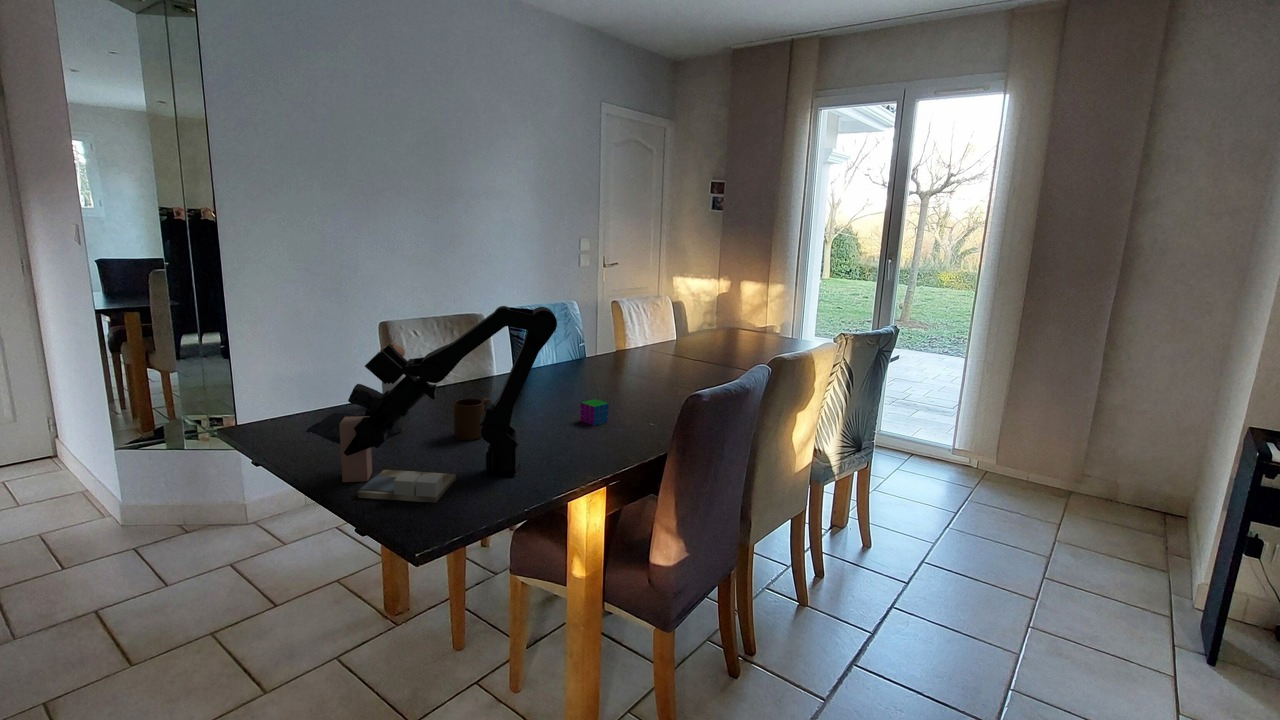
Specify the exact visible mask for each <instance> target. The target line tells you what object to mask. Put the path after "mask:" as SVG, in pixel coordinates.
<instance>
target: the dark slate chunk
mask: <svg viewBox="0 0 1280 720" xmlns="http://www.w3.org/2000/svg"><path fill="white" fill-rule="evenodd" d="M357 416H365V413H361V414H354V413H350V412H335V413H332V414H330V415H329V416H327V417H324V418H323V419H322V420H321V421H319V422H316V423H314V424H312V425H311V426H310V427H308V428H307V429H306V431H307V430H308V431H310V432H312V433H316V434H318V435H320V436H319V437H321V436H322V437H321V438H323V437H325V438H324V439H326V438H327V439H326V440H329V439H331V440H330V441H332V440H333V442H335V441H336V443H338V442H339V444H340V427H339V424H340V422H341V421H342V420H343V419H344V417H357ZM308 431H307V432H308ZM386 431H387V438H386V440H387V439H390V438H392V437H394V436H395V435H398V434H399V433H401V432H403V429H402V428H401V427H398V426H396V425H394V426H393V428H392V429H390V430H389V429H388V428H387V430H386ZM310 432H309V433H310ZM312 433H311V434H312ZM316 434H315V435H316ZM318 435H317V436H318Z"/></svg>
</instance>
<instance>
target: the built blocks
mask: <svg viewBox="0 0 1280 720" xmlns="http://www.w3.org/2000/svg"><path fill="white" fill-rule="evenodd" d="M442 489H443V475H429V474H423V475H422V476H421V474H412V473H401V474H400V475H399V476H398V477H397V478H396V479H395V480H394V494H395V495H411V496H414V495H415V494H416V496H426V497H436V496H437V495H438V494H439V493H440V492H441V491H442Z"/></svg>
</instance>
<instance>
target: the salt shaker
mask: <svg viewBox="0 0 1280 720" xmlns="http://www.w3.org/2000/svg"><path fill="white" fill-rule="evenodd" d="M390 344H391V345H392V346H393V347H394V348H395V350H396V351H397V352H398V353H399V354H400V355H401V356H403V357H404V356H405V355H406V349H404V347H403V346H400V345H397V344H395V343H394V342H391V343H390ZM386 346H387V345H385V346H383V347H381V349H380V350H379V352H381V351H382V350H383V349H384V348H385V347H386ZM404 377H405V375H404V374H403V375H402V376H401V377H400V378H399V379H398V380H397V381H396V382H395V383H394V384H392V383H390V384H388V383H386V384H384V383H383V382H382V381H381V391H382V392H381V393H382V394H384V393H385V392H386V391H387V390H388V391H389V390H391V389H393V388H394V387H395V386H396V385H397V384H398V383H399V382H400V381H401V380H402V379H403V378H404Z"/></svg>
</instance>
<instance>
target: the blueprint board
mask: <svg viewBox="0 0 1280 720" xmlns="http://www.w3.org/2000/svg"><path fill="white" fill-rule="evenodd" d="M401 473H412V474H421V476H422V475H423V474H429V475H443V489H442V491H441V492H440V493H439V494H438V495H437V496H436V497H426V496H416V494H415V495H414V496H411V495H395V494H394V480H395V479H396V478H397V477H398V476H399V475H400V474H401ZM456 480H457V474H456V473H442V472H439V473H438V472H430V471H429V472H428V471H427V472H425V471H414V470H413V471H412V470H409V471H408V470H397V469H396V470H394V469H383V470H382V471H381V472H380V473H378V474H377V475H375V476H373V478H371V479H369V480H368V481H367V483H365V484H364V485H363V486H362V487H361V488H360V489H359V490H358V491H357V498H360V499H371V500H372V499H374V500H388V501H390V500H391V501H405V502H421V503H437V502H438V501H439V500H440V499H441V497H443V495H444V494H445V493H446V492H447V490H448V489H449V488H450V487H451V486H452V485H453V483H454V482H455V481H456Z"/></svg>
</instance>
